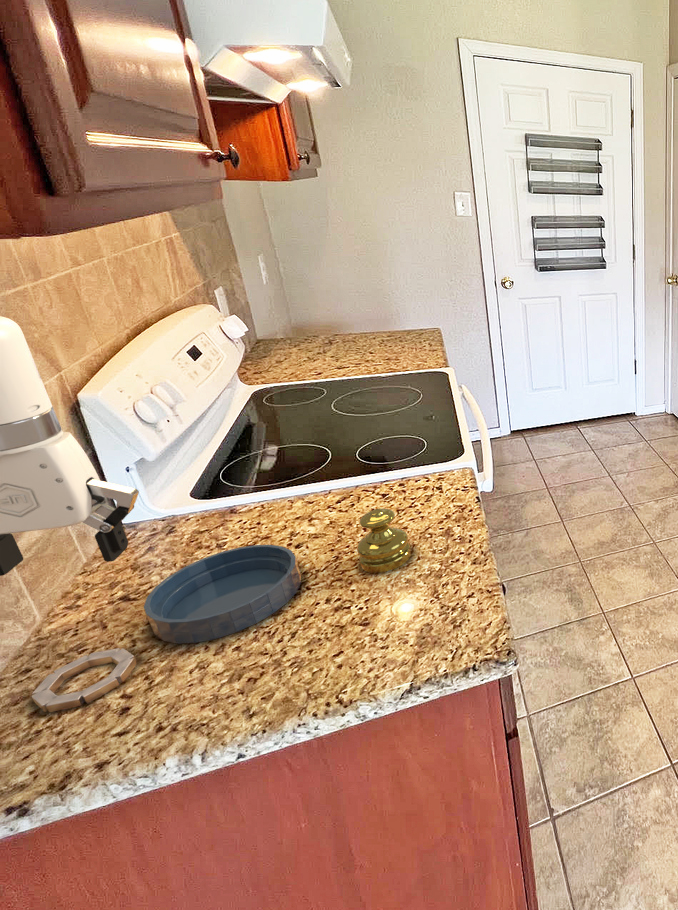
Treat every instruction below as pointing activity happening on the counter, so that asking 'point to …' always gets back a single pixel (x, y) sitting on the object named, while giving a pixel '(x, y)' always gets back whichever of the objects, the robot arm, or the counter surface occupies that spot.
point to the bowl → (222, 593)
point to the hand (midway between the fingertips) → (65, 561)
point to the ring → (54, 703)
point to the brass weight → (382, 543)
